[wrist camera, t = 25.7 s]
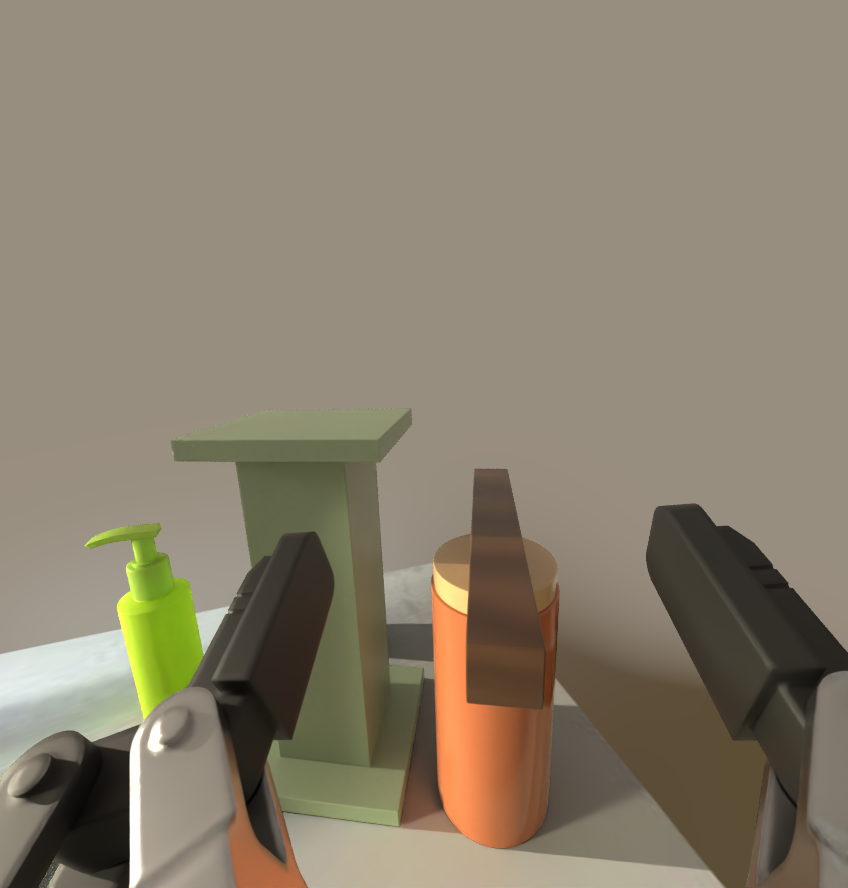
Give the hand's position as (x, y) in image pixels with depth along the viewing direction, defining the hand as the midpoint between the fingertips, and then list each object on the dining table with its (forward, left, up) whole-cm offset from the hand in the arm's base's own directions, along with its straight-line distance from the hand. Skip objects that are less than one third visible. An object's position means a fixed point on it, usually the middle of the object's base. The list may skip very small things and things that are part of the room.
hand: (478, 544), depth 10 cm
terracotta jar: (-6, +16, -31) cm, 35 cm away
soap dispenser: (-37, +6, -31) cm, 49 cm away
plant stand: (-20, +13, -31) cm, 39 cm away
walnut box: (-6, +16, -10) cm, 20 cm away
